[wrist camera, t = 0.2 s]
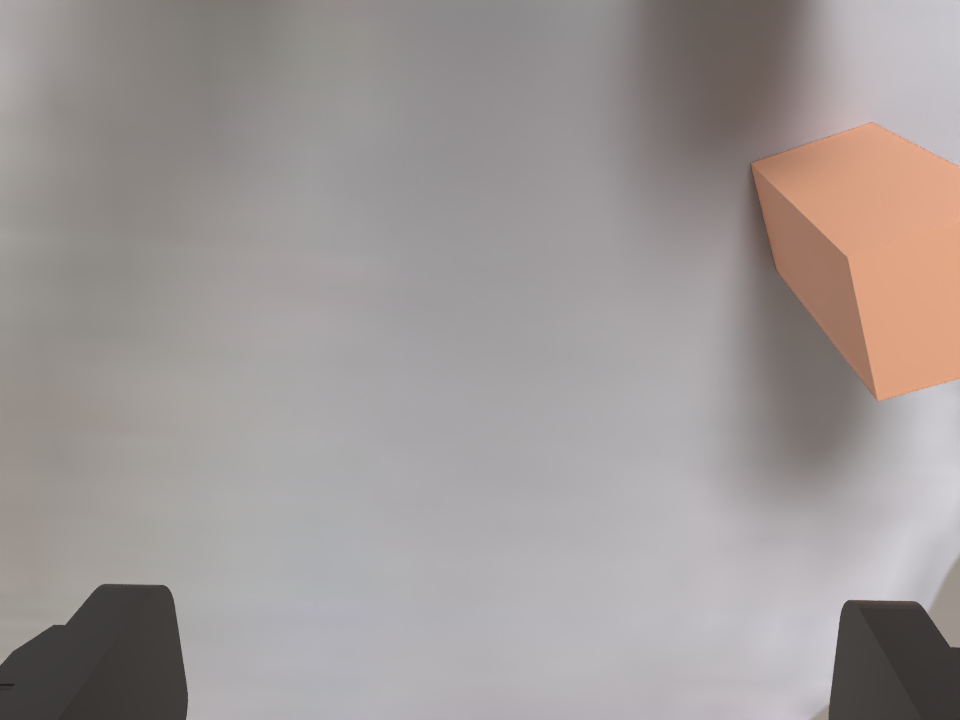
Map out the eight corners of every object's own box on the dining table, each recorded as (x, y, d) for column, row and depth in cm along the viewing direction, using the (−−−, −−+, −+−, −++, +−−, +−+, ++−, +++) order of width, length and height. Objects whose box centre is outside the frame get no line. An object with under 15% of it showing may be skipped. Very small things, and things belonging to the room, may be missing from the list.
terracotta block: (750, 163, 30) (847, 257, 21) (871, 122, 29) (1027, 201, 20) (776, 270, 32) (877, 401, 23) (893, 233, 31) (1045, 354, 22)
